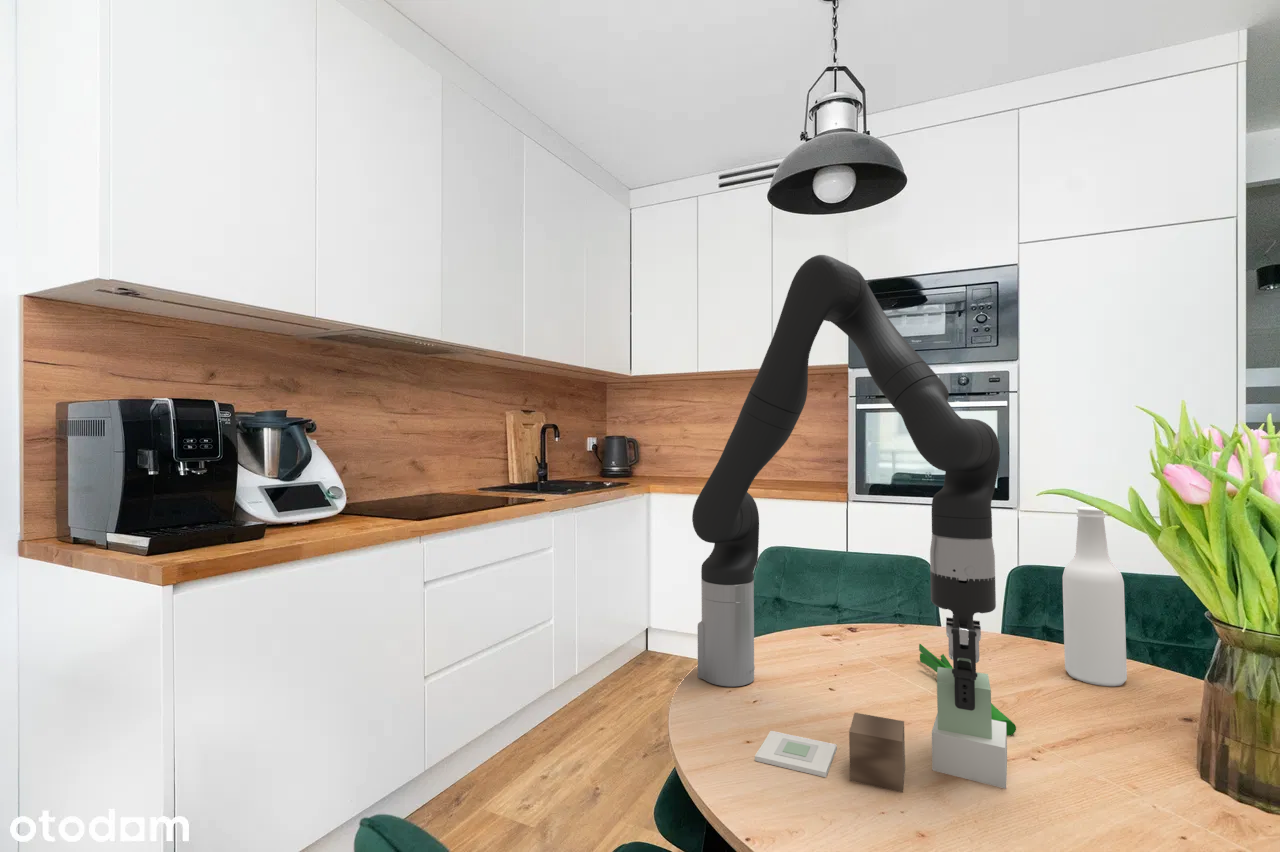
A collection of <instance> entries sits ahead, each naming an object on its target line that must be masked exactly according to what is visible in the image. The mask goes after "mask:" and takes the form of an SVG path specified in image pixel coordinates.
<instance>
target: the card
mask: <svg viewBox="0 0 1280 852" xmlns="http://www.w3.org/2000/svg"><path fill="white" fill-rule="evenodd" d="M837 750H838V746H837V744H836V743H831V742H826V741H822V740H817V739H813V738H808V737H804V736H803V737H802V736H798V735H793V734H789V733H784V732H779V731H774V730H770V731H769V733H768V735H767V736H766V737H765V739H764V741H763V743H762V744H761V746H760V747H759V749H758V750H757V752H756V753H755V755H754V761H755V762H759V763H763V764H768V765H773V766H776V767H780V768H785V769H789V770H793V771H796V772H797V771H798V772H800V773H801V772H802V773H806V774H810V775H814V776H818V777H822V778H827V776H828V773H829V771H830V768H831V766H832V763H833V760H834V758H835V755H836V752H837Z"/></svg>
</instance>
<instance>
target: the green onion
mask: <svg viewBox="0 0 1280 852" xmlns="http://www.w3.org/2000/svg"><path fill="white" fill-rule="evenodd" d="M918 650H919V652H920V653H919V661H920V663H922V664H923V665H926V666H927V667H929V668H930V669H931V670H933V671H934V672H936V673H937V669H938V667H943V668H950V669H953V665H952V664H951V663H950V662H949V661H950V660H948V659H947V657H946V655H944V653H942V654H941V655H940V659H939V658H938V657H937V656H936V655H934V654H933V653H932V652H930V650H928V649H927V648H926V647H925V646H924V645H922V644H921V643H918ZM991 717H992V720H997V721H1002V722H1006V729H1007V736H1012V735H1014V734H1015V732H1016V731H1017V726H1016V724H1015V723H1014V722H1013V721H1012V720H1011V719H1010V718H1009V717H1008V716H1007V715H1005V714H1004V713H1003V712H1001V710H999V709H998V708H997V707H996V706H995V705H994V704H993V703H992V702H991Z"/></svg>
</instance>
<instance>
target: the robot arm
mask: <svg viewBox="0 0 1280 852" xmlns="http://www.w3.org/2000/svg"><path fill="white" fill-rule="evenodd" d="M785 297H786V298H785V300H784V304H783V305H782V306H783V307H782V308H781V309H782V310H781V313H780V315H779V318H778V322H777V325H776V327H775V331H774V333H773V336H772V339H771V342H769V346H768V348H767V351H766V353H765V356H764V358H763V360H762V363H761V365H760V368H759V370H758V372H757V375H756V377H755V378H754V381H753V383H752V385H751V388H750V389H749V392H748V394H747V396H746V398H745V401H744V403H743V404H742V407H741V410H740V413H739V414H738V417H737V420H736V422H735V424H734V427H733V429H732V430H731V432H730V435H729V438H728V439H727V441H726V444H725V446H724V448H723V451H722V453H721V456H720V458H719V459H718V462H717V464H716V465H715V467H714V469H713V471H712V472H711V474H710V475H709V477H708V479H707V481H706V482H705V484H704V486H703V487H702V489H701V491H700V493H699V495H698V497H697V499H696V500H695V503H694V506H693V508H692V509H693V510H692V516H691V517H692V519H691V520H692V528H693V529H694V531H695V534H696V535H697V536H698V538H699V539H701V540H702V541H704V542H705V543H711V544H714V546H713V549H712V550H711V552H710V554H709V555H708V557H707V558H706V559H705V560H704V561H703V563H702V564H701V568H700V569H701V571H700V573H701V574H700V575H701V576H700V577H701V580H700V581H701V621H699V622H698V623H697V679H702V680H704V681H706V682H707V683H710V684H712V685H716V686H720V687H741V686H743V687H744V686H745V685H746V686H747V685H748V684H751V683H752V682H754V680H755V610H754V609H755V604H754V603H755V602H754V601H755V600H754V599H755V598H754V597H755V594H754V592H755V591H754V590H755V589H754V588H755V585H754V578H755V577H754V573H755V570H756V569H755V568H756V566H757V564H758V560H759V545H760V544H759V542H760V541H759V539H760V517H759V516H760V515H759V509H758V506H757V502H756V501H755V499H754V498H753V496H752V495H751V494H750V493H749V492H748V491H749V489H750V487H751V485H752V483H753V481H754V480H755V478H756V477H757V476H758V474H759V473H760V472H761V471H762V469H764V467H765V466H766V465H767V464H768V463H769V462H770V461H771V460H772V459H773V457H774V456H775V455H776V454H777V453H778V452H779V451H781V449H782V447H784V445H785V444H786V443H787V441H788V440H789V438H790V436H791V435H792V433H793V431H794V430H795V427H796V424H797V423H798V420H799V419H800V416H801V414H802V412H803V410H804V407H805V406H806V400H807V396H808V388H809V387H808V385H809V360H810V359H809V358H810V355H811V352H812V351H811V350H812V347H813V345H814V341H815V339H816V337H817V335H818V333H819V332H820V331H819V330H821V329H820V328H821V326H822V324H823V322H824V321H826V322H831V324H834V325H835V326H836V327H837V328H838V329H840V330H841V331H842V332H843V333H844V334H846V336H848V338H849V339H851V341H852V342H853V343H854V345H855V346H856V347H857V348H858V350H859V352H860V354H861V355H862V358H863V360H864V363H865V366H866V368H867V370H868V373H869V375H870V377H871V378H872V380H873V382H874V383H875V385H876V386H877V387H878V389H879V390H880V392H881V393H882V394H883V396H884V397H885V398H886V399H887V400H888V402H889V404H891V406H892V407H893V408H894V409H895V411H896V412H897V413H898V414H899V415H900V416H901V418H902V420H903V423H904V426H905V428H906V430H907V432H908V434H909V436H910V438H911V441H912V443H913V444H914V446H915V448H916V450H917V451H918V453H919V454H920V455H921V456H922V457H923V459H924V460H925V461H926V462H928V463H929V464H930V465H931V466H932V467H934V468H935V469H938V470H940V471H942V472H945V473H944V480H943V481H944V482H943V487H942V488H941V489H940V490H939V491H938V492H937V491H936V493H935V494H934V495H933V497H932V500H931V541H930V549H929V550H930V552H929V563H930V565H929V566H930V567H929V568H930V573H929V574H930V601H931V603H932V604H933V605H934V606H935V607H937V608H940V609H942V610H949V611H951V613H952V617H949V616H947V617H945V619H946V620H945V621H946V622H945V631H946V633H945V635H946V637H947V638H948V657H949V659H950V660H952V664H953V665H952V667H953V669H952V674H953V677H954V681H955V706H956V707H957V708H959V709H965V710H970V711H972V710H974V709H975V680H976V678H977V673H976V672H977V663H979V661H980V641H981V639H982V638H981V637H982V631H981V630H982V629H981V628H982V627H981V622H980V620H974V615H975V614H978V613H980V614H987V613H991V612H993V611H995V610H996V607H997V601H996V596H997V595H996V553H995V550H994V549H995V548H994V542H993V512H992V500H993V496H994V493H995V489H996V483H997V480H998V479H997V478H998V473H999V467H1000V460H1001V459H1000V457H1001V454H1000V453H1001V452H1000V451H1001V450H1000V448H1001V447H1000V443H999V440H998V439H999V438H998V437H997V434H996V432H995V430H994V429H993V428H992V427H991V426H990V425H989V424H988V423H986V422H984V421H982V420H979V419H975V418H962V417H961V416H959V415H958V413H957V412H956V410H954V409H953V407H952V406H951V405H950V403H949V402H948V400H949V398H950V396H949V395H950V394H949V389H948V388H947V385H945V383H944V381H943V380H942V379H941V378H940V377H939V376H938V374H936V372H935V371H934V370H933V369H932V368H931V367H930V366H929V365H928V363H927V362H926V361H925V360H924V358H922V357H921V356H920V354H918V352H917V351H916V350H915V349H914V348H913V346H911V344H910V343H909V342H908V340H906V339H905V338H904V336H902V334H901V333H900V332H899V330H898V329H897V328H896V327H895V325H894V323H892V322H891V320H890V318H889V317H888V316H887V314H886V313H885V311H884V309H883V308H882V307H881V305H880V303H879V302H878V300H877V298H876V296H875V294H874V293H873V290H872V289H871V287H870V285H869V284H868V283H867V281H866V279H865V277H864V276H863V275H862V274H861V271H859V270H858V269H856V268H855V267H853V266H851V265H849V264H847V263H845V262H843V261H840V260H838V259H837V258H836V257H835V258H834V257H832V256H829V255H826V254H818V255H815V256H812V257H810V258H809V259H807V260H805V261H804V262H803V264H802V265H800V266H799V268H798V270H797V271H796V273H795V275H794V276H793V279H792V280H791V284H790V286H789V288H788V291H787V294H786V296H785Z"/></svg>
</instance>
